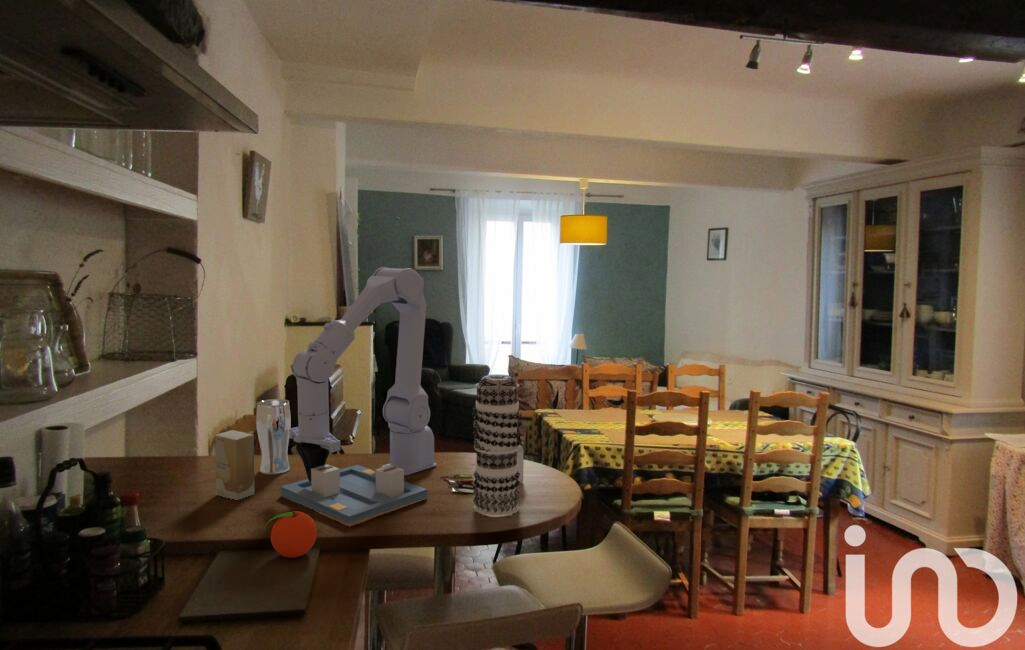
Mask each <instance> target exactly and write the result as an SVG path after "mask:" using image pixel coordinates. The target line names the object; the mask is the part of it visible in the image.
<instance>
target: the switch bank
mask: <svg viewBox="0 0 1025 650" xmlns="http://www.w3.org/2000/svg"><path fill="white" fill-rule="evenodd" d="M339 475H340V493H338V494H335V495H332V496H328V497H324V496H321V495H319V494H317V493H314V492H312V487H311V481H309V480H308V478H305V479H302V480H299V481H295V482H292V483H287V484H283V485H282V486H280V497H281V496H282V497H281V498H283V497H284V498H283V499H286V498H287V499H286V500H288V499H289V501H290V500H292V501H294V502H297V503H299V504H301V505H303V506H306V507H308V508H310V509H313V510H315V511H318V512H321V513H323V514H326V515H328V516H331V517H333V518H335V519H338V520H340V521H343V522H346V523H348V524H350V523H353V522H356V521H359V520H362V519H364V518H367V517H370V516H373V515H376V514H379V513H382V512H385V511H389V510H391V509H394V508H397V507H400V506H403V505H406V504H409V503H412V502H415V501H418V500H422V499H424V498H427V499H428V489H427V488H425V487H421V486H419V485H417V484H416V485H415V484H413V483H411V482H410V483H409V482H408V481H405V480H404V494H401V495H399V496H396V497H393V498H390V497H388V496H385V495H383V494H380V493H377V492H376V470H373V469H370V468H368V467H365V466H362V465H360V464H355V465H352V466H348V467H345V468H339ZM292 501H291V502H292ZM294 502H293V503H294ZM299 504H298V505H299ZM301 505H300V506H301ZM303 506H302V507H303ZM310 509H309V510H310Z"/></svg>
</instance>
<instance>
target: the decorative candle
mask: <svg viewBox="0 0 1025 650" xmlns="http://www.w3.org/2000/svg"><path fill="white" fill-rule="evenodd" d="M520 385H521V384H519V383H517V382H516V380H515V379H514V377H512V376H510V375H506V374H488V375H484V376H482V378H481V379H480V380H479V382H478V383H477V382H476V383H475V387H476V400H475V405H474V407H472V409H473V411H472V414H471V415H472V418H473V419H474V420H473V424H472V427H473V428H474V429H473V432H472V435H473V437H474V441H473V448H474V450H475V451H476V461H475V466H474V467H475V471H474V473H473V477H474V480H473V484H474V487H475V488H474V489H473V492H472V493H473V496H474V497H473V503H474V506H473V509H474V508H475V510H476V511H478V512H480V513H484V514H490V515H503V514H511V513H514V512H516V511H517V510H518V508H519V509H520V506H519V502H520V498H519V494H520V489H519V485H520V484H519V483H520V482H519V481H518V478H519V476H520V473H519V472H518V463H517V451H518V450H519V448H520V446H519V445H521V443H522V442H521V441H520V440H519V439H518V438H520V437H521V435H522V434H521V431H519V430H518V428H519V427H521V426H522V425H523V422H521V420H520V419H521V418H522V413H521V412H519V407H520V405H519V404H520V402H519V400H518V396H519V391H518V389H519V387H520ZM475 510H474V511H475ZM518 511H519V510H518Z"/></svg>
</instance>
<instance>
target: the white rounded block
mask: <svg viewBox="0 0 1025 650" xmlns="http://www.w3.org/2000/svg"><path fill="white" fill-rule="evenodd" d="M519 446H520V448H519V450H518V451H517V463H518V472H519V473H520V476H519V478H518V481H519V482H520V483H519V485H520V484H522V483H523V482H524V457H525V456H524V448H523V446H522V445H521V444H520V445H519Z"/></svg>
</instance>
